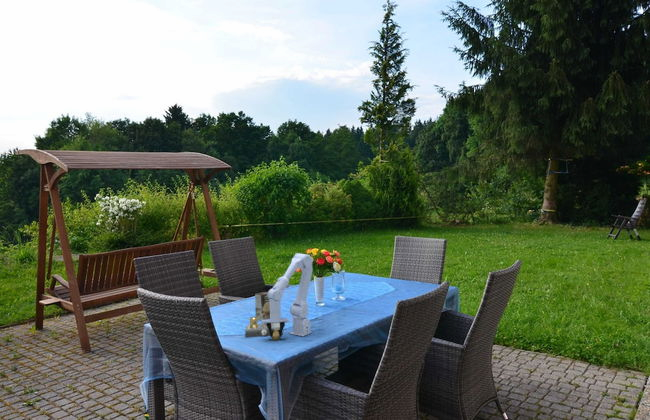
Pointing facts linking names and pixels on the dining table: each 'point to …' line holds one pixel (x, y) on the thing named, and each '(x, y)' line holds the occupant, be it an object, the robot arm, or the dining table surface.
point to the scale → (261, 330)
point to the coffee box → (262, 306)
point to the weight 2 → (275, 334)
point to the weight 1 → (253, 322)
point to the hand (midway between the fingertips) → (275, 336)
